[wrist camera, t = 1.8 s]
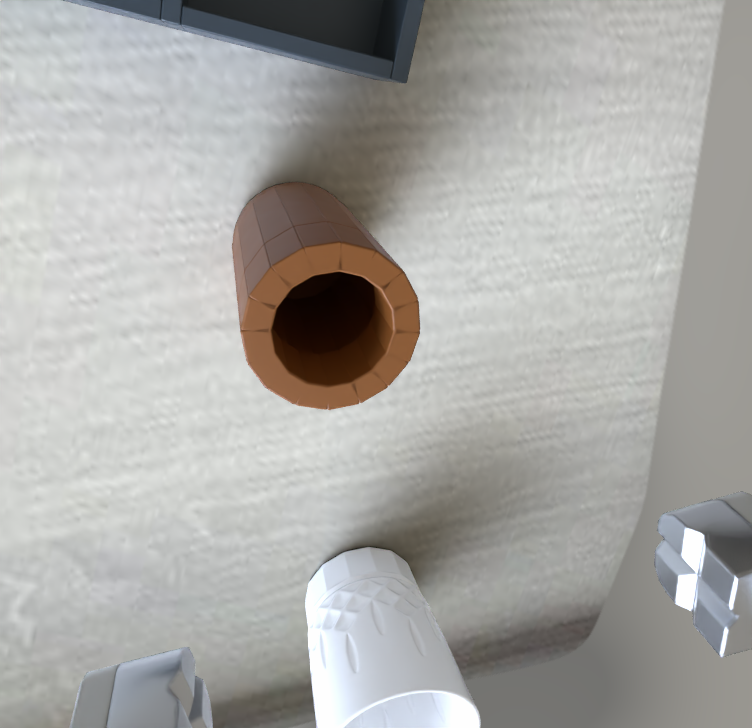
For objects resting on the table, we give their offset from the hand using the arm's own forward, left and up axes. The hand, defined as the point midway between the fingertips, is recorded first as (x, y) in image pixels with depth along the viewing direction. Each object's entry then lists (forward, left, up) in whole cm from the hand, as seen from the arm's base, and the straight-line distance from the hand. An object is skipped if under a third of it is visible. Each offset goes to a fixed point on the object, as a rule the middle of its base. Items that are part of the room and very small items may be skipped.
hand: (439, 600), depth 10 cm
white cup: (+16, -14, -20) cm, 29 cm away
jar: (0, +1, -20) cm, 20 cm away
